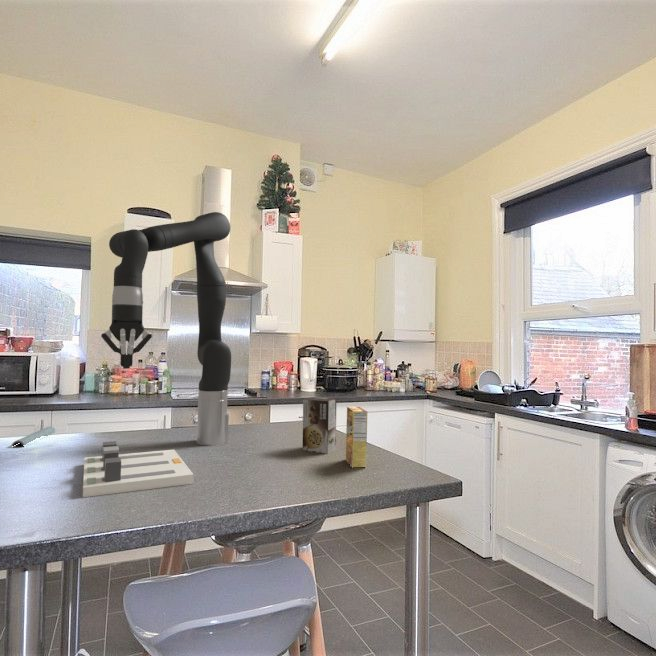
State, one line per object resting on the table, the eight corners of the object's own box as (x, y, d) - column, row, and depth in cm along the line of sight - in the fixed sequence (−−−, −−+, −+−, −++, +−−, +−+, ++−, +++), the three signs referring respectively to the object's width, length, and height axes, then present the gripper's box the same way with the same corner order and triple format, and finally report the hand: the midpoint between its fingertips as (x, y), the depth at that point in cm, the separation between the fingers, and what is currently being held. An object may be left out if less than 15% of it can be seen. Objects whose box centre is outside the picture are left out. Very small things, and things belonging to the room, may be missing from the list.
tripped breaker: (117, 463, 105) (118, 445, 105) (118, 468, 101) (119, 449, 101) (102, 465, 103) (103, 447, 103) (103, 469, 99) (103, 451, 100)
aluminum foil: (23, 452, 126) (24, 440, 126) (-3, 452, 125) (-2, 440, 125) (55, 436, 148) (55, 426, 148) (33, 436, 147) (34, 426, 147)
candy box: (344, 460, 124) (345, 406, 124) (359, 459, 125) (360, 406, 125) (351, 468, 115) (352, 410, 116) (367, 468, 116) (368, 410, 116)
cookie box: (336, 450, 136) (337, 398, 136) (327, 454, 130) (329, 400, 130) (310, 446, 139) (311, 396, 140) (301, 450, 134) (302, 398, 134)
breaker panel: (173, 458, 121) (174, 435, 122) (193, 485, 99) (194, 456, 99) (83, 467, 111) (85, 441, 111) (82, 500, 88) (84, 467, 88)
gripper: (151, 306, 123) (150, 367, 123) (99, 304, 116) (97, 368, 116) (156, 304, 117) (154, 368, 116) (100, 301, 110) (99, 370, 109)
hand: (126, 368), depth 116 cm, fingers closed
